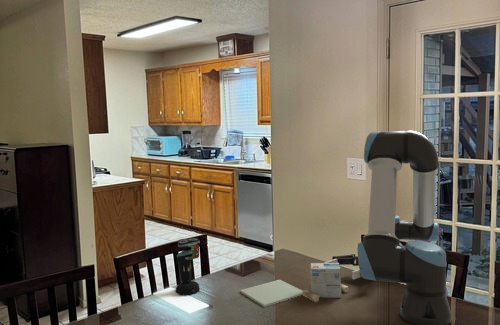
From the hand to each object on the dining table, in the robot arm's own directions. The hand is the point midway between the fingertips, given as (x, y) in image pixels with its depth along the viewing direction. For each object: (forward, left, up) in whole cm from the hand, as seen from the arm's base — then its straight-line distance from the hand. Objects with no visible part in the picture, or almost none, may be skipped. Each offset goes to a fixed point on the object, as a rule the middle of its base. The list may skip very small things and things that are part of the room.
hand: (338, 270), depth 165 cm
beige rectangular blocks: (-1, +7, -7) cm, 10 cm away
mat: (+11, +22, -7) cm, 26 cm away
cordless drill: (+31, +46, -7) cm, 56 cm away
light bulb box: (-1, +7, -7) cm, 10 cm away
